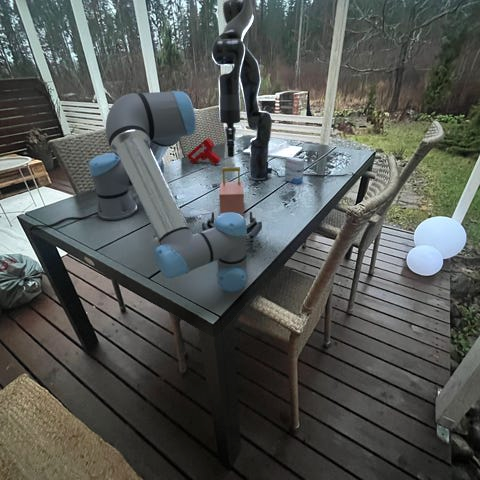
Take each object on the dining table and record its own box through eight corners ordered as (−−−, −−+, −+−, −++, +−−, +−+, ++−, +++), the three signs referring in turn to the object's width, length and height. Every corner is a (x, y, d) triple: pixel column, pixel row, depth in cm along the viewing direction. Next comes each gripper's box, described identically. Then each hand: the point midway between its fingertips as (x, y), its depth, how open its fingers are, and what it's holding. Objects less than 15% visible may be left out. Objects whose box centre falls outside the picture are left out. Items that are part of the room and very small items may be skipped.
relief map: (291, 159, 177) (291, 151, 174) (243, 153, 190) (243, 145, 187) (302, 149, 197) (303, 142, 194) (258, 144, 211) (258, 137, 208)
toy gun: (223, 158, 167) (209, 137, 163) (221, 160, 164) (206, 138, 160) (204, 173, 177) (189, 154, 173) (201, 175, 174) (186, 155, 170)
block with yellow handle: (220, 184, 116) (219, 164, 112) (242, 183, 116) (242, 164, 112) (219, 196, 105) (218, 175, 100) (243, 196, 105) (243, 175, 100)
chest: (221, 203, 121) (220, 184, 116) (242, 203, 121) (242, 184, 116) (220, 217, 110) (219, 197, 105) (243, 217, 110) (243, 196, 105)
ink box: (302, 181, 142) (305, 159, 136) (297, 184, 139) (300, 161, 133) (289, 177, 147) (291, 156, 141) (284, 180, 144) (285, 158, 138)
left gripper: (191, 259, 82) (198, 225, 100) (273, 257, 83) (265, 223, 100) (188, 238, 78) (196, 206, 96) (274, 237, 79) (266, 205, 96)
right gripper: (220, 105, 103) (221, 149, 112) (218, 110, 91) (220, 159, 100) (239, 105, 103) (240, 148, 112) (240, 110, 91) (241, 158, 100)
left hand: (232, 215), depth 98 cm, fingers open, 13 cm apart
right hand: (230, 153), depth 106 cm, fingers open, 8 cm apart
